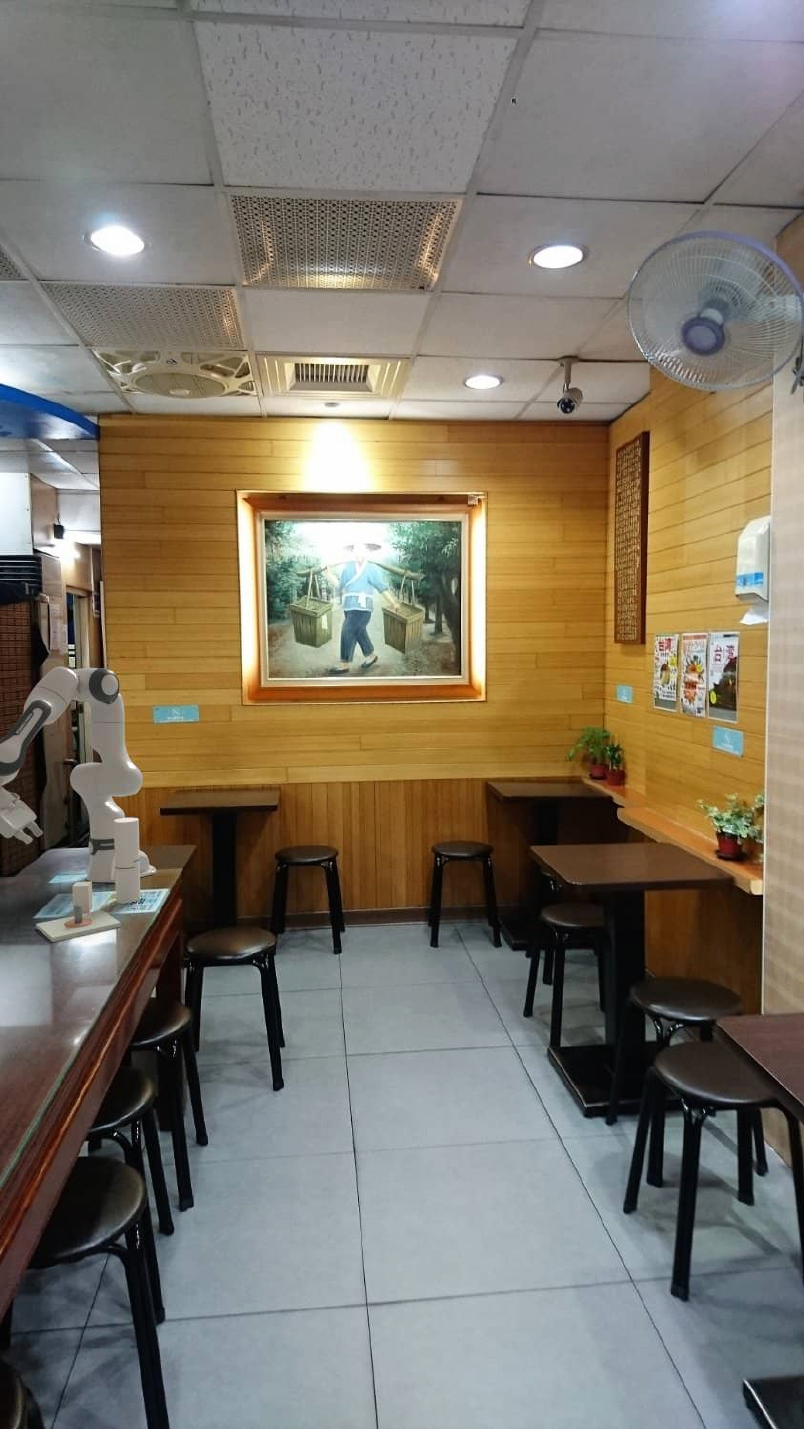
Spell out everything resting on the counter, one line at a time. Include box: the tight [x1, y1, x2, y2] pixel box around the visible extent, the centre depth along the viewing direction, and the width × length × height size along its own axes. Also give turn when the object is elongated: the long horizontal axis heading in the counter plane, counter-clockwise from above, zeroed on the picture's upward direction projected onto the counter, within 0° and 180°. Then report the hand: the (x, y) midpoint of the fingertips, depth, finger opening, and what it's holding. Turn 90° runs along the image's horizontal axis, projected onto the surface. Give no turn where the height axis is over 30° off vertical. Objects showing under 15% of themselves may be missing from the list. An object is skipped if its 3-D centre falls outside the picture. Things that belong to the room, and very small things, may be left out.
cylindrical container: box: [114, 817, 141, 904], centre depth 238 cm, size 7×7×25 cm
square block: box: [71, 881, 93, 914], centre depth 229 cm, size 4×4×8 cm
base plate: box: [35, 904, 122, 943], centre depth 215 cm, size 18×14×6 cm
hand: (35, 838), depth 226 cm, fingers open, 8 cm apart
